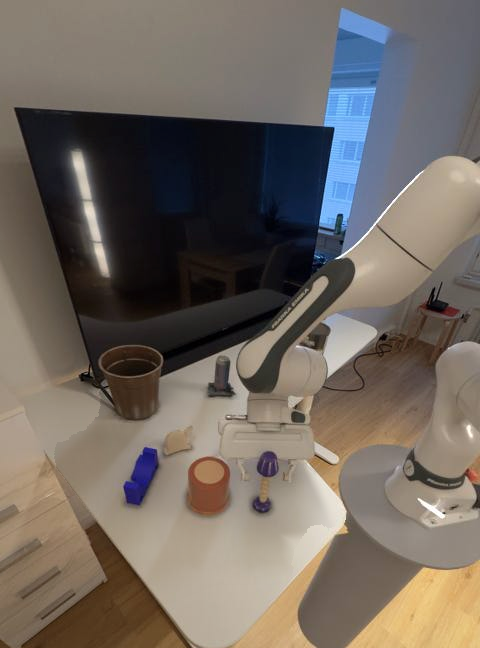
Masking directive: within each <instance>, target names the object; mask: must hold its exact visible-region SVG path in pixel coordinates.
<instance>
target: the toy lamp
mask: <svg viewBox="0 0 480 648" xmlns="http://www.w3.org/2000/svg"><path fill="white" fill-rule="evenodd" d="M278 460H279V459H277V456H276V454H275V453H274V452H272V451H266V452H264V453H263V454H262V456H261V458H260V459H258V461H257V463H256V472H257V473H258V474H259V475H260V476H261V483H260V489H259V491H260V492H259V496H256V497H255V498H254V499H253V501H252V508H253V510H254V511H256V512H257V513H260V514H266V513H268V512H270V510H271V507H272V503H271V500H270V499H269V498H268V493H269V488H270V483H271V481H270V480H271V478H273V477H275V476H277V474H278V473H279V471H280V466H279V461H278Z"/></svg>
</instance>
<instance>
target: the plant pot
mask: <svg viewBox="0 0 480 648" xmlns="http://www.w3.org/2000/svg"><path fill="white" fill-rule="evenodd" d="M163 364H164V357H163V355H162V354H161V353H160V352H159V351H158V350H156V349H155V348H152V347H149V346H146V345H141V344H126V345H119V346H116V347H115V346H114V347H112V348H110V349H108V350H107V351H105V352H103V353H102V354H101V355H100V357H99V358H98V367H99V369H100V370H101V371H102V374H103V377H104V379H105V381H106V382H107V385H108V389H109V392H110V395H111V398H112V401H113V405H114V409H115V411H116V413H117V414H118V416H120V417H123V418H125V420H126V419H127V420H130V421H140V420H145V419H147V418H150V417H151V416H152V415H153V414H155V413H157V411H158V409H159V399H160V398H159V397H160V378H161V374H162V366H163Z"/></svg>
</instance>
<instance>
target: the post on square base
mask: <svg viewBox="0 0 480 648" xmlns="http://www.w3.org/2000/svg"><path fill="white" fill-rule="evenodd" d="M230 371H231V360H230V358H229V357H228V356H226V355H219V356H218V357H217V358H216V359H215V367H214V380H213V382H208V383H207V387H206V388H207V390H206V391H207V397H210V398H212V397H215V396H221V397H225V396H226V397H228V398H233V396H235V395H236V392H235V391H234V390H235V389H234V387H232V386H231V383H230V382H229V380H230V379H229V378H230Z"/></svg>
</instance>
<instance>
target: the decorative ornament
mask: <svg viewBox="0 0 480 648" xmlns="http://www.w3.org/2000/svg"><path fill="white" fill-rule="evenodd" d="M193 429H194V426H193V425H190V426H188V427H186V429H184V430H180V429H177V430H176V429H175V430H172V431H170V432H168V433H167V434H166V436H165V438H164V446H163V452H164V454H165V455H166V456H168V455H169V456H170V455H171V454H174V453H176V452H179V451H184V450H191V449H192V447H191V444H190V442H189V439H188V435H189V434H190V433H191V432H192V431H193Z"/></svg>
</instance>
